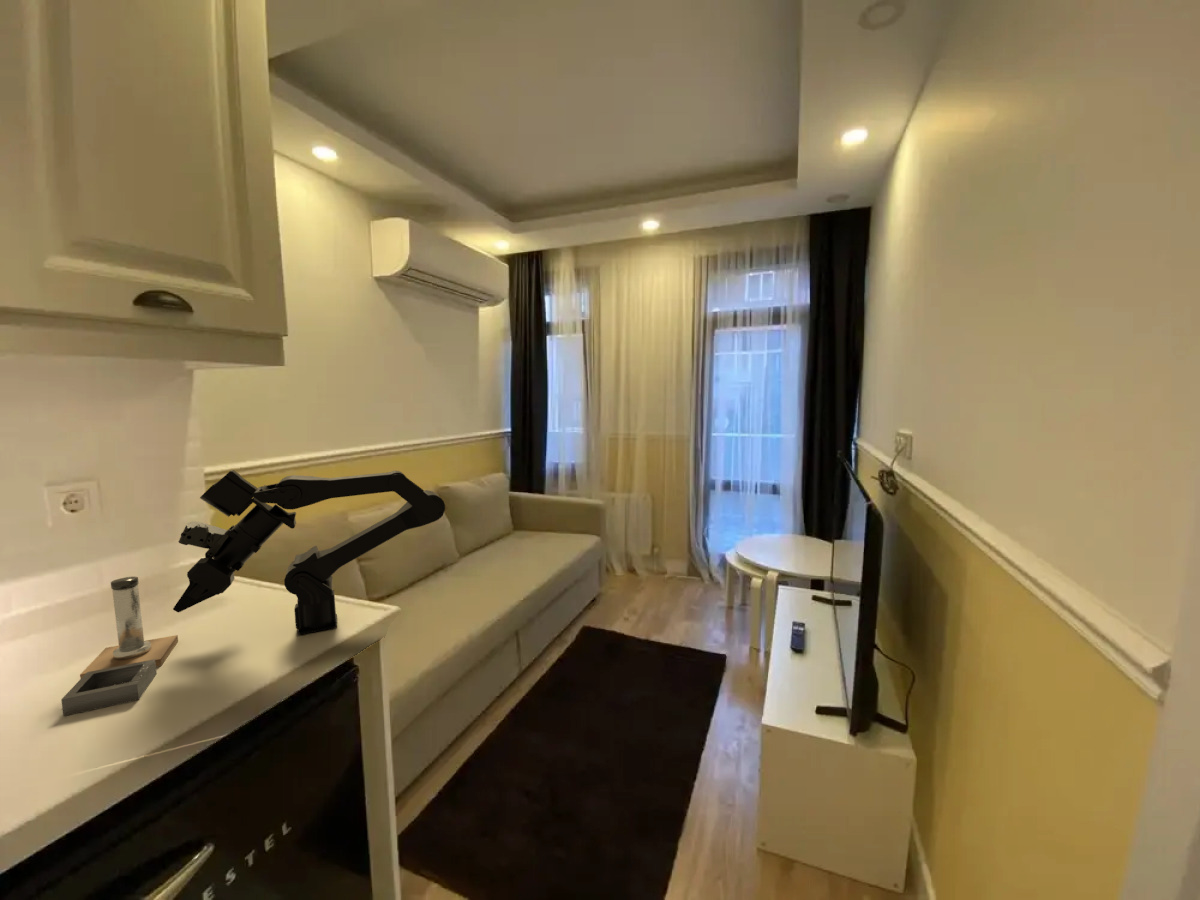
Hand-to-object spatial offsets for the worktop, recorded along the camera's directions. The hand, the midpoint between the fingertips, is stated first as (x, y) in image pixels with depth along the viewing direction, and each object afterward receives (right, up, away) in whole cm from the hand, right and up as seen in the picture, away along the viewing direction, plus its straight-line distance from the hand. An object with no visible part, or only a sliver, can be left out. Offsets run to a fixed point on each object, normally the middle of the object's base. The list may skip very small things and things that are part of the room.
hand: (183, 601), depth 90 cm
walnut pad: (-7, -9, -3) cm, 12 cm away
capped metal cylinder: (-7, -8, -3) cm, 11 cm away
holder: (0, -10, -13) cm, 16 cm away
